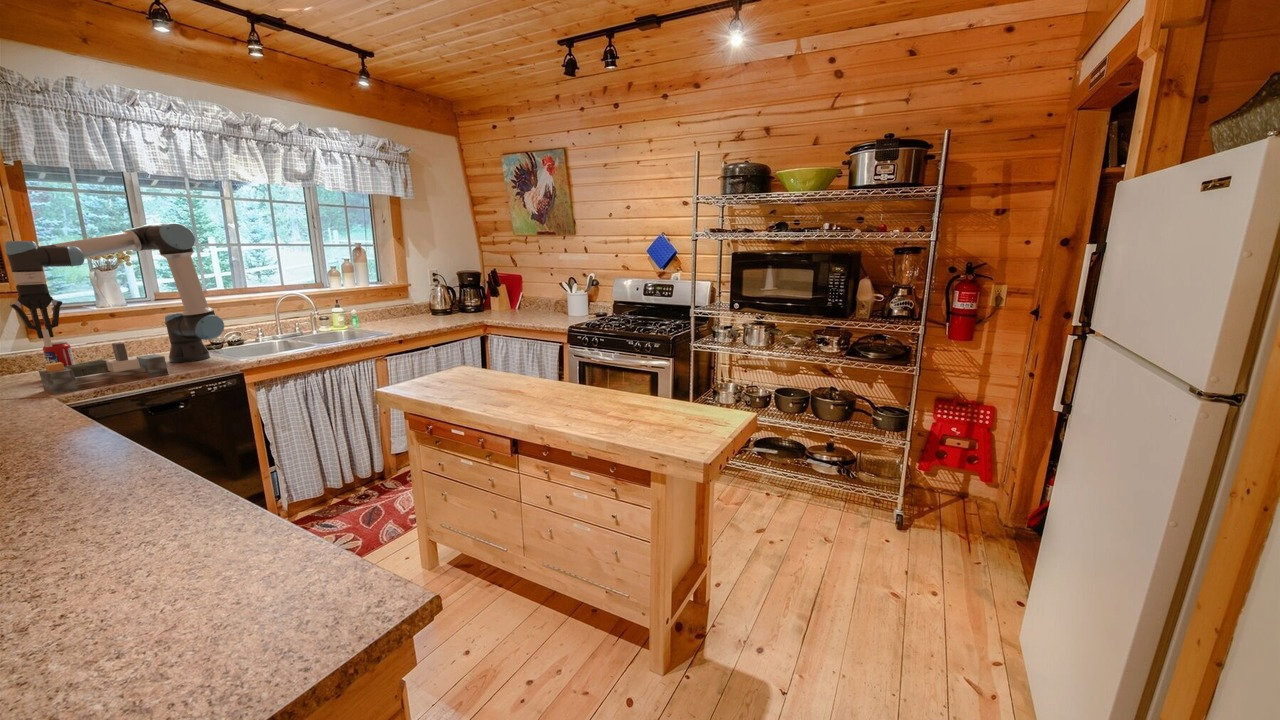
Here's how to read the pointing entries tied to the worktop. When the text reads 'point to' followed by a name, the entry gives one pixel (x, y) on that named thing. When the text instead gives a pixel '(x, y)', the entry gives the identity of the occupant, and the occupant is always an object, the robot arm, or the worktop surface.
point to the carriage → (121, 359)
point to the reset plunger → (54, 367)
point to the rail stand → (102, 376)
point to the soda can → (59, 353)
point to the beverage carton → (89, 368)
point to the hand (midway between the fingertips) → (48, 346)
